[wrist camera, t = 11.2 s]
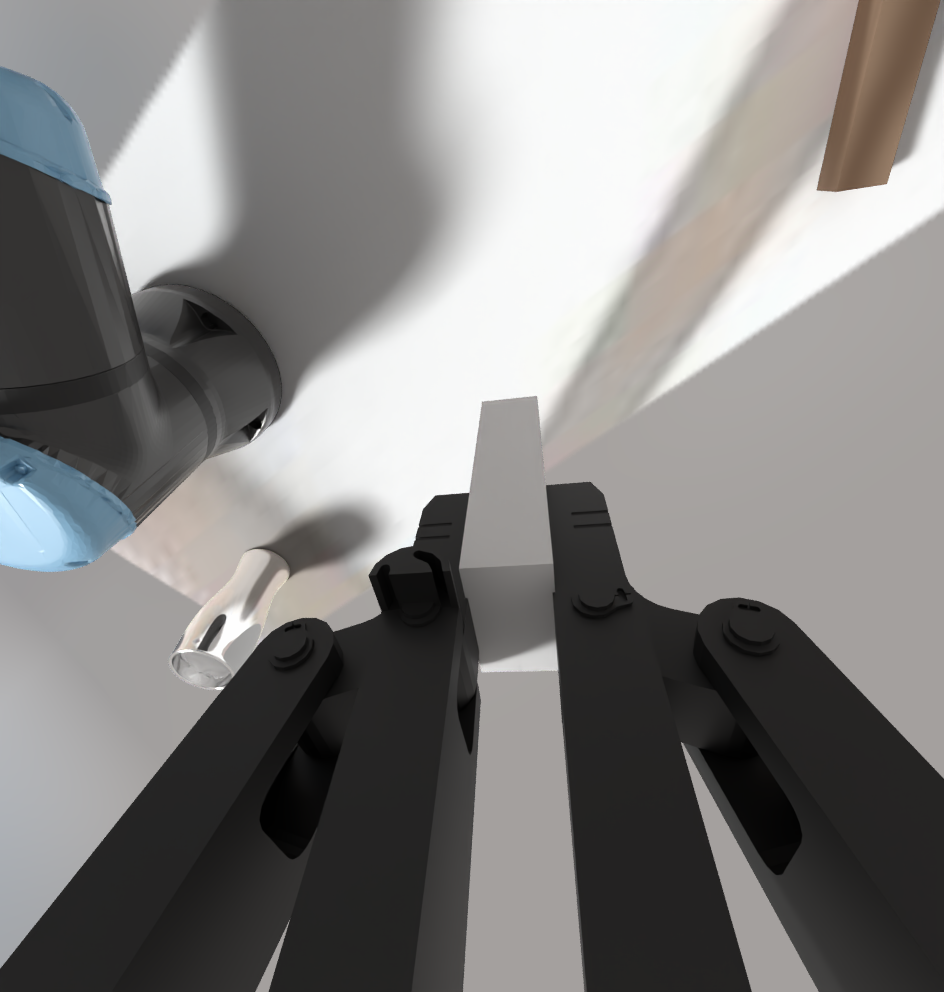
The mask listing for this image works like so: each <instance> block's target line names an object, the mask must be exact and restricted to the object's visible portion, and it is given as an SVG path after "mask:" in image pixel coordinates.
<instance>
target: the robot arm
mask: <svg viewBox="0 0 944 992" xmlns="http://www.w3.org/2000/svg"><path fill="white" fill-rule="evenodd" d="M109 205H112V202H111V198H110V196H109V194H108V193H107V192H106V191H105V190H104V189H103V186H102V183H101V180H100V177H99V174H98V170H97V167H96V164H95V161H94V157H93V154H92V151H91V148H90V144H89V141H88V138H87V135H86V131H85V129H84V126H83V124H82V122H81V120H80V118H79V117H78V115H77V114H76V113H75V111H74V110H73V108H72V107H71V106H70V105H69V104H68V103H67V102H66V101H65V100H64V99H63V98H62V97H61V96H60V95H59V94H58V93H56V92H55V91H54V90H52V89H51V88H49V87H48V86H46V85H45V84H43V83H41V82H40V81H37V80H35V79H33V78H31V77H29V76H27V75H24V74H21V73H18V72H16V71H13V70H10V69H7V68H5V67H2V66H0V564H2V565H6V566H10V567H14V568H19V569H25V570H32V571H43V572H56V571H67V570H72V569H76V568H80V567H83V566H85V565H88V564H90V563H91V562H94V561H95V560H97V559H98V558H99V557H101V556H102V555H103V554H104V553H105V552H107V551H108V550H109V549H110V548H111V547H113V546H114V545H115V544H116V543H117V542H119V541H120V540H122V539H125V538H126V537H128V536H130V535H131V534H132V533H133V532H134V531H135V529H136V528H137V527H138V526H139V525H140V524H141V523H142V522H143V521H144V520H145V519H146V518H147V517H148V516H149V515H150V514H151V513H152V512H153V511H154V510H155V509H156V508H157V507H158V506H159V505H160V504H161V503H162V502H163V501H164V500H165V499H166V498H167V497H168V496H169V495H170V494H171V493H172V492H173V491H174V490H175V489H176V488H177V487H178V486H179V485H180V484H181V483H182V482H183V481H184V480H185V479H186V478H187V477H188V476H189V475H190V474H191V473H192V472H193V471H194V470H195V469H196V468H197V467H198V466H199V465H200V464H201V463H202V462H203V461H204V460H206V459H208V458H211V457H214V456H217V455H220V454H223V453H226V452H229V451H232V450H235V449H238V448H241V447H243V446H245V445H247V444H249V443H251V442H252V441H254V440H255V439H256V438H257V437H258V436H260V435H261V434H262V432H263V431H264V430H265V429H266V428H267V427H268V426H269V425H270V424H271V423H272V421H273V420H274V418H275V416H276V414H277V412H278V409H279V406H280V402H281V379H280V374H279V370H278V367H277V364H276V361H275V359H274V356H273V354H272V352H271V350H270V348H269V347H268V345H267V343H266V342H265V340H264V339H263V337H262V336H261V334H260V333H259V332H258V331H257V329H256V328H255V327H254V326H253V325H252V324H251V323H250V322H249V321H248V320H247V319H246V318H245V317H244V316H243V315H242V314H241V313H240V312H239V311H237V310H236V309H235V308H233V307H232V306H231V305H229V304H228V303H226V302H225V301H223V300H221V299H220V298H218V297H216V296H214V295H212V294H210V293H207V292H205V291H202V290H199V289H196V288H193V287H188V286H183V285H160V286H155V287H152V288H148V289H145V290H143V291H140V292H137V293H134V294H132V295H131V292H130V288H129V284H128V280H127V276H126V272H125V268H124V264H123V260H122V256H121V252H120V248H119V244H118V240H117V236H116V232H115V228H114V224H113V220H112V216H111V211H110V207H109ZM369 578H370V581H371V584H372V587H373V589H374V592H375V595H376V597H377V600H378V603H379V606H380V608H381V611H382V612H381V614H380V615H378V616H377V617H375V618H373V619H371V620H368V621H366V622H364V623H361V624H357V625H354V626H351V627H348V628H345V629H342V630H339V631H335V632H333V631H332V630H331V628H330V626H329V625H328V624H327V622H324V621H322V620H319V619H317V618H301V619H297V620H294V621H291V622H288V623H285V624H284V625H282V626H280V627H279V628H277V629H275V630H274V631H272V632H271V633H270V634H269V635H268V636H267V637H266V638H265V639H264V640H263V641H262V642H261V643H260V644H259V645H258V646H257V648H256V649H255V650H254V651H253V653H252V654H251V655H250V656H249V658H248V659H247V660H246V661H245V663H244V664H243V665H242V666H241V668H240V669H239V670H238V671H237V673H236V674H235V675H234V676H233V678H232V679H231V680H230V681H229V683H228V684H227V685H226V686H225V688H224V689H223V690H222V691H221V693H220V694H219V695H218V696H217V698H216V699H215V700H214V701H213V703H212V704H211V705H210V706H209V708H208V709H207V710H206V711H205V713H204V714H203V715H202V716H201V718H200V719H199V720H198V721H197V723H196V724H195V725H194V727H193V728H192V729H191V730H190V732H189V733H188V734H187V735H186V737H185V738H184V739H183V741H182V742H181V743H180V744H179V745H178V747H177V748H176V749H175V750H174V752H173V753H172V754H171V755H170V757H169V758H168V759H167V760H166V762H165V763H164V764H163V766H162V767H161V768H160V769H159V770H158V772H157V773H156V774H155V775H154V777H153V778H152V779H151V780H150V782H149V783H148V784H147V786H146V787H145V788H144V790H143V791H142V792H141V793H140V794H139V795H138V797H137V798H136V799H135V800H134V802H133V803H132V804H131V806H130V807H129V808H128V809H127V811H126V812H125V813H124V814H123V816H122V817H121V818H120V819H119V821H118V822H117V823H116V824H115V826H114V827H113V828H112V829H111V831H110V832H109V833H108V834H107V836H106V837H105V838H104V839H103V841H102V842H101V843H100V844H99V846H98V847H97V848H96V849H95V851H94V852H93V853H92V854H91V856H90V857H89V858H88V859H87V861H86V862H85V863H84V865H83V866H82V867H81V868H80V869H79V871H78V872H77V873H76V874H75V876H74V877H73V878H72V880H71V881H70V882H69V883H68V885H67V886H66V887H65V888H64V890H63V891H62V892H61V893H60V895H59V896H58V897H57V898H56V900H55V901H54V902H53V903H52V905H51V906H50V907H49V908H48V910H47V911H46V912H45V913H44V915H43V916H42V917H41V918H40V920H39V921H38V922H37V923H36V925H35V926H34V927H33V928H32V930H31V931H30V932H29V933H28V935H27V936H26V937H25V938H24V940H23V941H22V942H21V943H20V945H19V946H18V947H17V948H16V950H15V951H14V952H13V954H12V955H11V956H10V957H9V958H8V960H7V961H6V962H5V964H4V965H3V966H2V967H1V968H0V992H255V991H256V989H257V987H258V985H259V983H260V981H261V979H262V976H263V974H264V972H265V970H266V968H267V966H268V964H269V961H270V960H271V958H272V955H273V953H274V951H275V949H276V947H277V945H278V943H279V941H280V939H281V937H282V934H283V932H284V930H285V928H286V926H287V924H288V922H289V920H290V922H289V925H288V928H287V932H286V936H285V938H284V942H283V946H282V949H281V952H280V955H279V959H278V962H277V965H276V969H275V972H274V976H273V979H272V982H271V986H270V989H269V992H463V978H464V963H465V946H466V930H467V915H468V914H467V913H468V898H469V881H470V865H471V849H472V832H473V817H474V800H475V784H476V768H477V752H478V736H479V718H480V703H481V699H480V693H479V687H478V683H477V674H478V662H479V663H480V667H481V672H511V671H552V670H553V671H555V670H558V673H559V685H560V699H561V712H562V713H561V714H562V724H563V736H564V747H565V760H566V772H567V784H568V795H569V808H570V821H571V832H572V845H573V857H574V870H575V881H576V894H577V906H578V917H579V929H580V943H581V953H582V954H581V955H582V966H583V978H584V990H585V992H752V991H751V988H750V984H749V980H748V977H747V973H746V970H745V966H744V963H743V959H742V956H741V952H740V949H739V945H738V942H737V938H736V935H735V932H734V928H733V924H732V921H731V917H730V914H729V910H728V907H727V903H726V900H725V896H724V893H723V889H722V886H721V882H720V879H719V875H718V871H717V868H716V864H715V861H714V858H713V854H712V850H711V847H710V844H709V840H708V836H707V833H706V829H705V826H704V822H703V819H702V815H701V812H700V809H699V805H698V802H697V798H696V794H695V791H694V788H693V784H692V780H691V777H690V773H689V770H688V766H687V763H686V759H685V756H684V752H683V749H682V745H681V742H682V743H684V745H685V747H686V749H687V751H688V753H689V755H690V756H691V758H692V760H693V762H694V764H695V765H696V768H697V769H698V771H699V773H700V775H701V777H702V779H703V780H704V782H705V784H706V786H707V788H708V789H709V791H710V793H711V795H712V797H713V799H714V800H715V802H716V804H717V806H718V808H719V810H720V811H721V813H722V815H723V817H724V819H725V821H726V822H727V824H728V826H729V828H730V830H731V831H732V833H733V835H734V837H735V839H736V841H737V843H738V844H739V846H740V848H741V850H742V852H743V854H744V855H745V857H746V859H747V861H748V863H749V865H750V866H751V868H752V870H753V872H754V874H755V876H756V877H757V879H758V881H759V883H760V885H761V887H762V888H763V890H764V892H765V894H766V896H767V898H768V899H769V901H770V903H771V905H772V907H773V908H774V910H775V912H776V914H777V916H778V917H779V920H780V921H781V923H782V925H783V927H784V929H785V931H786V932H787V934H788V936H789V938H790V940H791V942H792V943H793V945H794V947H795V949H796V951H797V952H798V954H799V956H800V958H801V960H802V962H803V963H804V965H805V967H806V969H807V971H808V973H809V975H810V976H811V978H812V980H813V982H814V983H815V986H816V987H817V989H818V991H819V992H944V779H943V778H942V777H941V775H940V774H939V773H938V772H937V771H936V770H935V769H934V768H933V767H932V766H931V765H930V764H929V763H928V762H927V761H926V760H925V759H924V758H923V757H922V756H921V754H920V753H919V752H918V751H917V750H916V749H915V748H914V747H913V746H912V745H911V744H910V743H909V742H908V741H907V740H906V739H905V738H904V737H903V736H902V735H901V734H900V733H899V731H897V729H896V728H895V727H894V726H893V725H892V724H891V723H890V722H889V721H888V720H887V719H886V718H885V717H884V716H883V715H882V714H881V713H880V712H879V711H878V709H877V708H876V707H875V706H874V705H873V704H872V703H871V702H870V701H869V700H868V699H867V698H866V697H865V696H864V695H863V694H862V693H861V692H860V691H859V690H858V689H857V687H856V686H855V685H854V684H853V683H852V682H851V681H850V680H849V679H848V678H847V677H846V676H845V675H844V674H843V673H842V672H841V671H840V670H839V669H838V668H837V667H836V666H835V665H834V663H833V662H832V661H831V660H830V659H829V658H828V657H827V656H826V655H825V654H824V653H823V652H822V651H821V650H820V649H819V648H818V647H817V646H816V645H815V644H814V643H813V641H812V640H811V639H810V638H809V637H808V636H807V635H806V634H805V633H804V632H803V631H802V630H801V629H800V628H799V627H798V626H797V625H796V624H795V623H794V622H793V621H792V620H791V619H789V618H788V617H787V616H785V615H784V614H783V613H781V612H780V611H779V610H777V609H775V608H773V607H770V606H768V605H766V604H764V603H761V602H759V601H754V600H749V599H744V598H727V599H720V600H717V601H715V602H713V603H711V604H708V605H707V606H706V607H705V608H704V609H703V611H702V612H701V613H700V614H699V615H698V614H693V613H689V612H684V611H679V610H674V609H670V608H666V607H663V606H660V605H657V604H655V603H653V602H651V601H649V600H647V599H645V598H644V597H643V596H641V595H640V594H639V593H637V592H636V591H635V590H634V588H633V587H632V586H631V585H630V584H629V582H628V580H627V577H626V575H625V572H624V568H623V564H622V561H621V557H620V553H619V549H618V546H617V542H616V539H615V535H614V531H613V528H612V526H611V520H610V516H609V513H608V509H607V505H606V501H605V498H604V495H603V493H602V492H601V491H600V490H598V489H597V488H596V487H595V486H594V485H593V484H592V483H591V482H583V483H570V484H557V485H546V484H545V473H544V462H543V452H542V441H541V431H540V421H539V410H538V400H537V396H532V397H523V398H514V399H504V400H495V401H485V402H482V407H481V414H480V421H479V428H478V435H477V443H476V450H475V457H474V464H473V471H472V478H471V485H470V493H462V494H449V495H437V496H434V498H433V499H432V500H431V501H430V502H429V503H428V504H427V506H426V507H425V508H424V509H423V511H422V515H421V519H420V523H419V528H418V530H417V534H416V541H414V545H413V546H411V547H406V548H401V549H399V550H397V551H394V552H392V553H390V554H388V555H386V556H385V557H384V558H382V559H381V560H380V561H379V562H378V563H376V564H375V566H374V567H373V569H372V571H371V572H370V574H369Z"/></svg>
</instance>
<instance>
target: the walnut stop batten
mask: <svg viewBox="0 0 944 992" xmlns="http://www.w3.org/2000/svg"><path fill="white" fill-rule="evenodd" d="M939 3H940V0H859V3H858V7H857V12H856V16H855V21H854V25H853V30H852V34H851V39H850V43H849V48H848V52H847V57H846V61H845V66H844V70H843V75H842V79H841V83H840V88H839V92H838V97H837V101H836V106H835V110H834V115H833V119H832V124H831V128H830V133H829V137H828V142H827V146H826V151H825V155H824V160H823V164H822V169H821V173H820V178H819V182H818V187H817V190H820V191H832V192H839V191H845V190H851V189H858V188H864V187H871V186H877V185H884V184H887V182H888V178H889V175H890V172H891V168H892V165H893V161H894V158H895V154H896V151H897V148H898V144H899V141H900V137H901V134H902V130H903V127H904V124H905V120H906V117H907V113H908V110H909V106H910V103H911V100H912V96H913V93H914V89H915V86H916V82H917V79H918V76H919V72H920V69H921V65H922V62H923V58H924V55H925V52H926V48H927V45H928V41H929V38H930V34H931V31H932V27H933V24H934V21H935V17H936V14H937V10H938V7H939Z"/></svg>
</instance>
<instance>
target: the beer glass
mask: <svg viewBox="0 0 944 992" xmlns="http://www.w3.org/2000/svg"><path fill="white" fill-rule="evenodd" d="M289 575H290V569H289V566H288V564H287V563H286V561H285V560H284V559H283V558H282V557H281V556H279V555H278V554H276V553H274V552H272V551H269V550H265V549H252V550H249V551H247V552H246V553H245V554H244V555H243V556H242V557H241V560H240V562H239V564H238V567H237V570H236V572H235V573H234V575H233V577H232V578H231V579H230V580H229V582H228V583H227V584H226V585H225V586H224V587H223V588H222V589H221V590H220V591H219V592H217V593H216V594H215V595H214V596H213V597H212V598H211V599H210V600H209V601H208V602H207V603H206V604H205V606H204V607H203V608H202V609H201V610H200V611H199V612H198V614H197V615H196V616H195V617H194V619H193V620H192V622H191V623H190V624H189V626H188V627H187V629H186V630H185V632H184V634H183V635H182V637H181V639H180V640H179V642H178V644H177V646H176V647H175V649H174V651H173V652H172V654H171V655H170V656H169V659H168V665H169V667H170V669H171V671H172V672H173V673H174V674H175V675H176V676H177V677H178V678H180V679H181V680H183V681H184V682H186V683H188V684H190V685H193V686H195V687H199V688H203V689H208V690H222V689H224V688H225V686H226V685H227V684H228V683H229V681H230V680H231V679H232V678H233V676H234V675H235V674H236V673H237V671H238V670H239V669H240V668H241V666H242V665H243V664H244V663H245V661H246V660H247V659H248V658H249V656H250V655H251V654H252V652H253V651H254V649H255V646H256V645H257V643H258V641H259V639H260V636H261V633H262V631H263V628H264V625H265V622H266V619H267V615H268V612H269V609H270V605H271V602H272V600H273V598H274V596H275V594H276V592H277V591H278V590H279V589H280V588H281V586H282V585H283V584H284V583H285V582H286V581H287V579H288V578H289Z"/></svg>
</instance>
